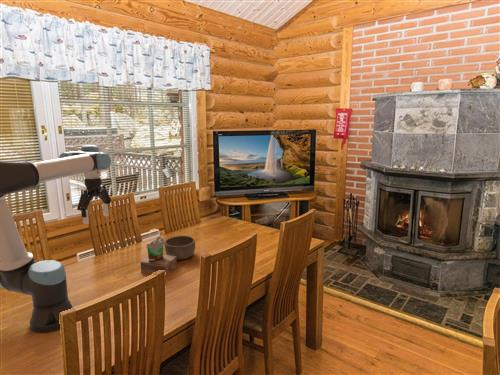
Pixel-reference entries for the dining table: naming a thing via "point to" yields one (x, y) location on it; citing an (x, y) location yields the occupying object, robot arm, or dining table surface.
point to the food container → (155, 250)
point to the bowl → (180, 246)
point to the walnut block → (159, 265)
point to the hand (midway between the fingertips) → (96, 219)
